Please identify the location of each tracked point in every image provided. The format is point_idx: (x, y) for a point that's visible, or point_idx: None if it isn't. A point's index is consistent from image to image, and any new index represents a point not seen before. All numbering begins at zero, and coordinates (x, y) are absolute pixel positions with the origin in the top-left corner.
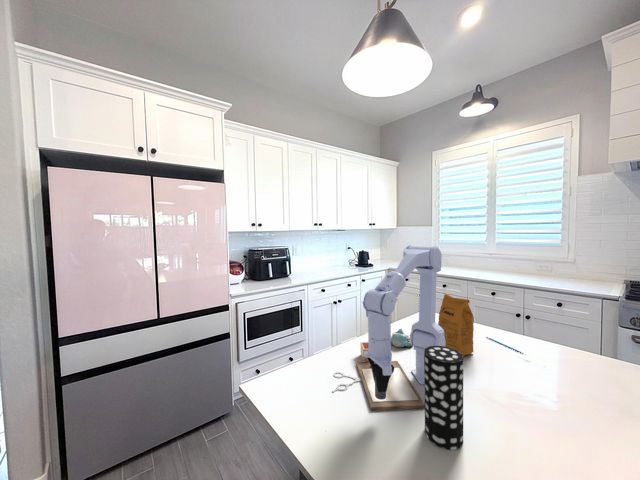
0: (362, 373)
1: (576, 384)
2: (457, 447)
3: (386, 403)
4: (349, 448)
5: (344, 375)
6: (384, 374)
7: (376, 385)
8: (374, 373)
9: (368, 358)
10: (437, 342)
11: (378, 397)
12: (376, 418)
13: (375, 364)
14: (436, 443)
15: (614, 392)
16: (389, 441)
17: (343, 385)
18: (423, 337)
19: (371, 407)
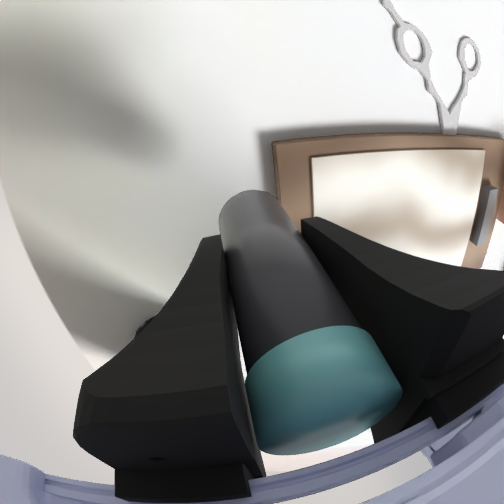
0: (469, 146)
1: (324, 455)
2: None
3: (302, 214)
4: (56, 71)
5: (468, 76)
6: (4, 466)
7: (241, 239)
8: (103, 365)
9: (468, 321)
10: (424, 450)
11: (222, 213)
12: (225, 162)
13: (231, 450)
14: (137, 332)
15: (305, 466)
16: (111, 208)
17: (423, 54)
18: (465, 424)
19: (275, 146)
